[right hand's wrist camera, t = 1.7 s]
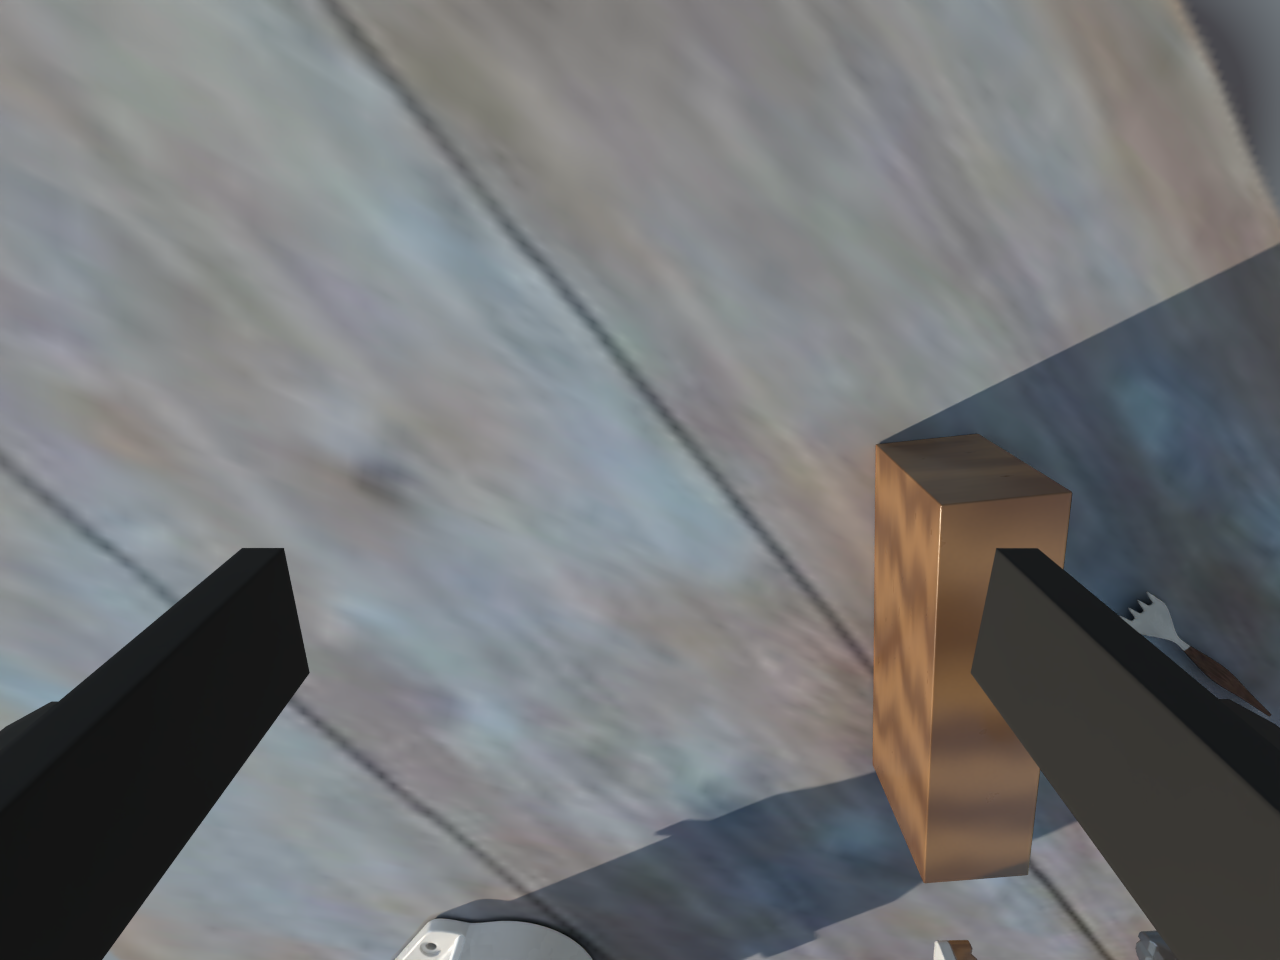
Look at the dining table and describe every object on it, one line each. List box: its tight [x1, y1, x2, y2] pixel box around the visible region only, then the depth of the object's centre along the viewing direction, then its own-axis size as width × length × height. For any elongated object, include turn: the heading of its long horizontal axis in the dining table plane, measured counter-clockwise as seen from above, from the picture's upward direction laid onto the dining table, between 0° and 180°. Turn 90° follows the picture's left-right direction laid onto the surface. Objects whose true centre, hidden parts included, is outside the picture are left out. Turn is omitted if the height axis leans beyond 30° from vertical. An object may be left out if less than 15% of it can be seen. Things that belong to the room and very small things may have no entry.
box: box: [873, 434, 1072, 883], centre depth 41 cm, size 24×6×10 cm, turn 6°
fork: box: [1119, 592, 1271, 716], centre depth 45 cm, size 3×16×2 cm, turn 53°
